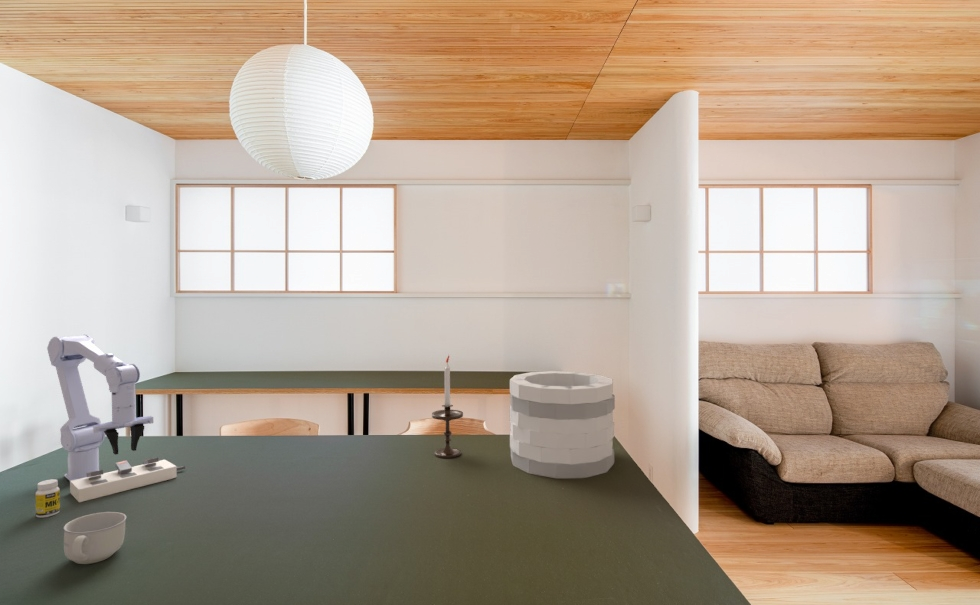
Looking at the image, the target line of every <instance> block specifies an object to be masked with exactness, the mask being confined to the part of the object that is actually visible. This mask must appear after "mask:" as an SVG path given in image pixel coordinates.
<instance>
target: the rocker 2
mask: <svg viewBox="0 0 980 605" xmlns="http://www.w3.org/2000/svg"><path fill="white" fill-rule="evenodd" d="M132 467H133V466H131V464H130V463H129V462H128V460H122V461H118V462H115V468H116V469H117V470H118V471H119V473H120V474H124V473H128V472H132Z"/></svg>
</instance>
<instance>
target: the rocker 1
mask: <svg viewBox="0 0 980 605" xmlns="http://www.w3.org/2000/svg"><path fill="white" fill-rule="evenodd" d="M103 473H104V470H103V469H101V470H100V469H99V471H93V472H89V473H86V474H87V477H93V476H97V475H102V474H103Z"/></svg>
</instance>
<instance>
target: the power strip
mask: <svg viewBox="0 0 980 605" xmlns="http://www.w3.org/2000/svg"><path fill="white" fill-rule="evenodd" d="M131 467H132V472H128V473H124V474H120V473H119V471H118V470H116V469H115V470H113V471H109V472H103V474H102V475H97V476H93V477H85V478H81V479H76V480H72V481H69V492H70V494H71V496H73V497H74V499H75V500H76V501H77V502H78V503H82V502H85V501H91V500H93V499H97V498H102V497H105V496H110V495H114V494H117V493H120V492H121V493H122V492H125V491H129V490H132V489H136V488H140V487H144V486H148V485H152V484H156V483H160V482H161V483H162V482H164V481H167V480H169V481H170V480H172V479H175V478H177V477H178V474H177V472H178V471H181V470H185V469H186V466H185V465H182V466H177V465H175V463H172V462H170V461H168V459H167V460H166V459H159V462H154V463H150V464H144V465H143V463H142V464H140V465H134V466H131Z"/></svg>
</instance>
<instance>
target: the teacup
mask: <svg viewBox="0 0 980 605" xmlns="http://www.w3.org/2000/svg"><path fill="white" fill-rule="evenodd" d="M126 521H127V515H126V514H125V513H123V512H117V511H103V512H97V513H90V514H86V515H82V516H79V517H77V518H74V519H72V520H70V521H69V522H66V523H65V525H64V526H63V532H64V533H63V551H64V555H65V557H66V559H68V560H70V561H72V562H74V563H75V564H79V565H90V564H96V563H99V562H102V561H104V560H106V559H109V558H111V556H113V555H114V554H115V553H116V552H118V551H119V549H120V548H121V547H122V546H123V544H124V541H125V534H126Z"/></svg>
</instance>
